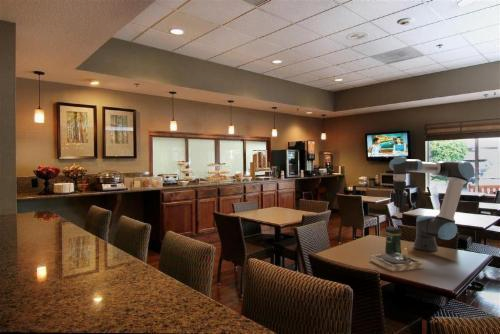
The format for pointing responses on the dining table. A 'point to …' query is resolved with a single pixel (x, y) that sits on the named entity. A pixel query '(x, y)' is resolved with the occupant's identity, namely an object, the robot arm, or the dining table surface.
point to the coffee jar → (393, 240)
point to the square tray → (396, 267)
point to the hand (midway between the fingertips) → (399, 217)
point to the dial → (397, 257)
